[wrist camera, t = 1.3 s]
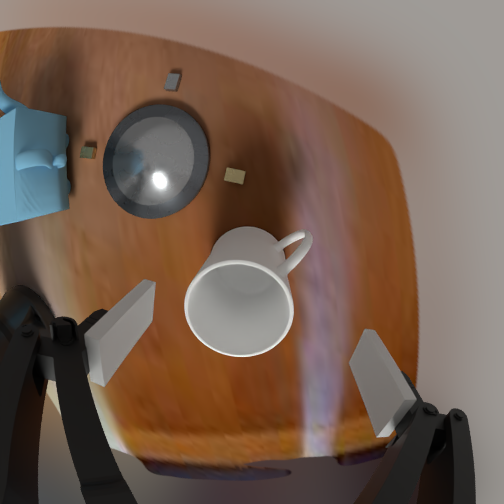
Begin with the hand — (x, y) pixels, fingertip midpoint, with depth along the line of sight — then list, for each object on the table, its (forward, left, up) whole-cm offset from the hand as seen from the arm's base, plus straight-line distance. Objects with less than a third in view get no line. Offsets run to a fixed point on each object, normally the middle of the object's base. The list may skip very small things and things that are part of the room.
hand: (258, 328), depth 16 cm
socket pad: (-14, +10, -16) cm, 23 cm away
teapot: (-32, +8, -16) cm, 37 cm away
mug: (0, 0, -16) cm, 16 cm away
